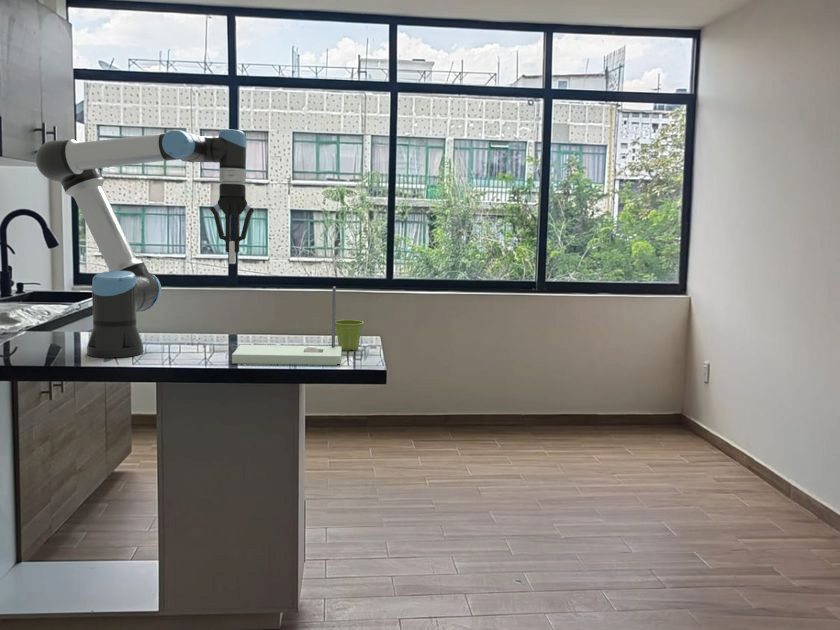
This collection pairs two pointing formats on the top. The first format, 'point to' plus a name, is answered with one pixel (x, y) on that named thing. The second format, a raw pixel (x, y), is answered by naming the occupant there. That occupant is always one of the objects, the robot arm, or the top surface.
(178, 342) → the top surface
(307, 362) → the green
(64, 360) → the top surface
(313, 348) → the ball
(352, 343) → the plant pot
